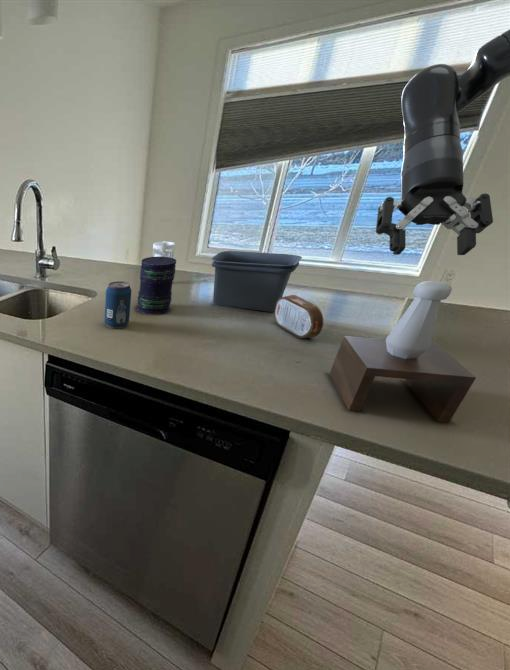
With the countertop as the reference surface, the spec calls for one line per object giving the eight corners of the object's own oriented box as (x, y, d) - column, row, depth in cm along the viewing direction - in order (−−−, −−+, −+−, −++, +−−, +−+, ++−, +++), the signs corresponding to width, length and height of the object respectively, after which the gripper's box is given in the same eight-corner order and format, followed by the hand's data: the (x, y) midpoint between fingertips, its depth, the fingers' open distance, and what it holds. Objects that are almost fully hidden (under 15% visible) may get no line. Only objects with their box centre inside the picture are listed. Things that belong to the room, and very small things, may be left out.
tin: (318, 342, 98) (329, 309, 93) (305, 343, 98) (316, 311, 94) (280, 320, 111) (288, 290, 106) (268, 321, 111) (276, 291, 107)
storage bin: (200, 305, 125) (208, 259, 117) (215, 291, 134) (224, 247, 127) (280, 317, 112) (295, 266, 105) (291, 301, 122) (305, 253, 115)
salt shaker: (418, 364, 69) (455, 291, 63) (376, 354, 73) (407, 284, 67) (428, 353, 72) (464, 282, 66) (387, 344, 76) (417, 276, 70)
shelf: (414, 382, 80) (435, 341, 75) (449, 422, 69) (476, 377, 65) (329, 374, 85) (343, 335, 81) (348, 410, 74) (367, 367, 70)
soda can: (114, 318, 122) (117, 279, 116) (133, 324, 117) (137, 283, 111) (99, 325, 118) (100, 285, 112) (118, 331, 113) (121, 289, 107)
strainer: (149, 285, 146) (153, 242, 138) (149, 279, 152) (153, 238, 144) (170, 285, 144) (175, 242, 136) (169, 279, 149) (174, 237, 142)
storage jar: (166, 316, 120) (172, 265, 112) (132, 312, 125) (137, 263, 117) (173, 305, 127) (179, 257, 119) (141, 302, 132) (145, 255, 124)
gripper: (391, 159, 71) (390, 240, 68) (503, 151, 66) (507, 239, 62) (370, 188, 78) (367, 263, 75) (469, 184, 73) (471, 264, 69)
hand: (431, 252), depth 69 cm, fingers open, 8 cm apart
